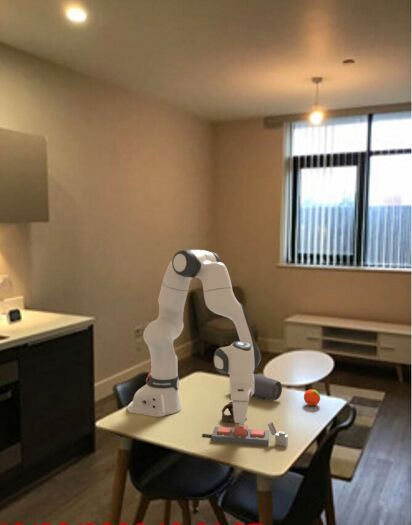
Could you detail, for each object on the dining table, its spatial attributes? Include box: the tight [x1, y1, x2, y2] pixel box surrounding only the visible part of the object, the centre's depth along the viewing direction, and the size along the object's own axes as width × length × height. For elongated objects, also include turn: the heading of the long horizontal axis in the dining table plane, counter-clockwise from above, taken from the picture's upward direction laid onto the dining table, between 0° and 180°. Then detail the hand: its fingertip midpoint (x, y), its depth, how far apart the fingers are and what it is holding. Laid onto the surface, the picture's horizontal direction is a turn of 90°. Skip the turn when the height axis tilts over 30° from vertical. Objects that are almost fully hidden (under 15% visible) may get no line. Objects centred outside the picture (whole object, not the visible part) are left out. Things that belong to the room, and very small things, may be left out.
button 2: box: [233, 423, 248, 436], centre depth 175 cm, size 4×4×3 cm
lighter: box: [267, 421, 289, 447], centre depth 171 cm, size 7×2×8 cm, turn 61°
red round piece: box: [303, 388, 321, 407], centre depth 209 cm, size 8×7×7 cm
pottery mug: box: [221, 401, 248, 423], centre depth 193 cm, size 12×10×8 cm
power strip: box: [201, 426, 270, 447], centre depth 175 cm, size 24×8×3 cm, turn 81°
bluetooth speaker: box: [251, 373, 283, 401], centre depth 220 cm, size 23×9×10 cm, turn 49°
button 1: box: [218, 426, 232, 435], centre depth 176 cm, size 4×4×3 cm
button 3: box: [251, 428, 264, 437], centre depth 174 cm, size 4×4×3 cm
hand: (241, 425), depth 175 cm, fingers closed
